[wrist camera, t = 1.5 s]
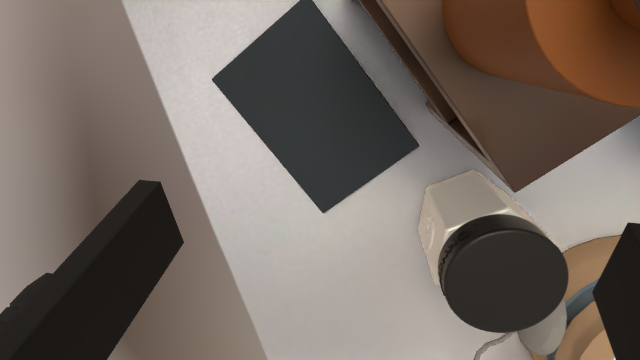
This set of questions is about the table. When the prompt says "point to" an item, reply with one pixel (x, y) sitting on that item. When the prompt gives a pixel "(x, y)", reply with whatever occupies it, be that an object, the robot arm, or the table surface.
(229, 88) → the mat
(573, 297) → the alarm clock
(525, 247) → the jar
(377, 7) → the block
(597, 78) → the spice bottle
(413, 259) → the table surface
